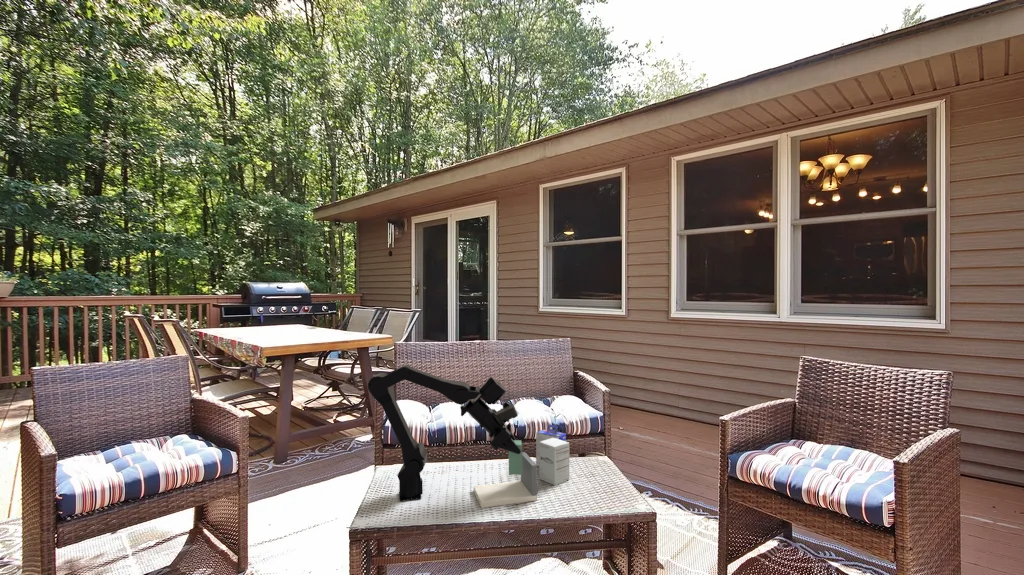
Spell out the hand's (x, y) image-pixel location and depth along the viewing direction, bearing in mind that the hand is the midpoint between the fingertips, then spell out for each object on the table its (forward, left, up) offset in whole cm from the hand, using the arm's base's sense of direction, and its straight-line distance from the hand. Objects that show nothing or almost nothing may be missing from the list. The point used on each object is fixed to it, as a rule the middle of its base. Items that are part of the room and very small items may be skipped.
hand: (519, 450), depth 145 cm
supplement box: (+14, +7, -14) cm, 21 cm away
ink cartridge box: (+17, +18, -14) cm, 29 cm away
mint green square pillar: (-1, 0, -7) cm, 7 cm away
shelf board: (-5, 0, -13) cm, 14 cm away
